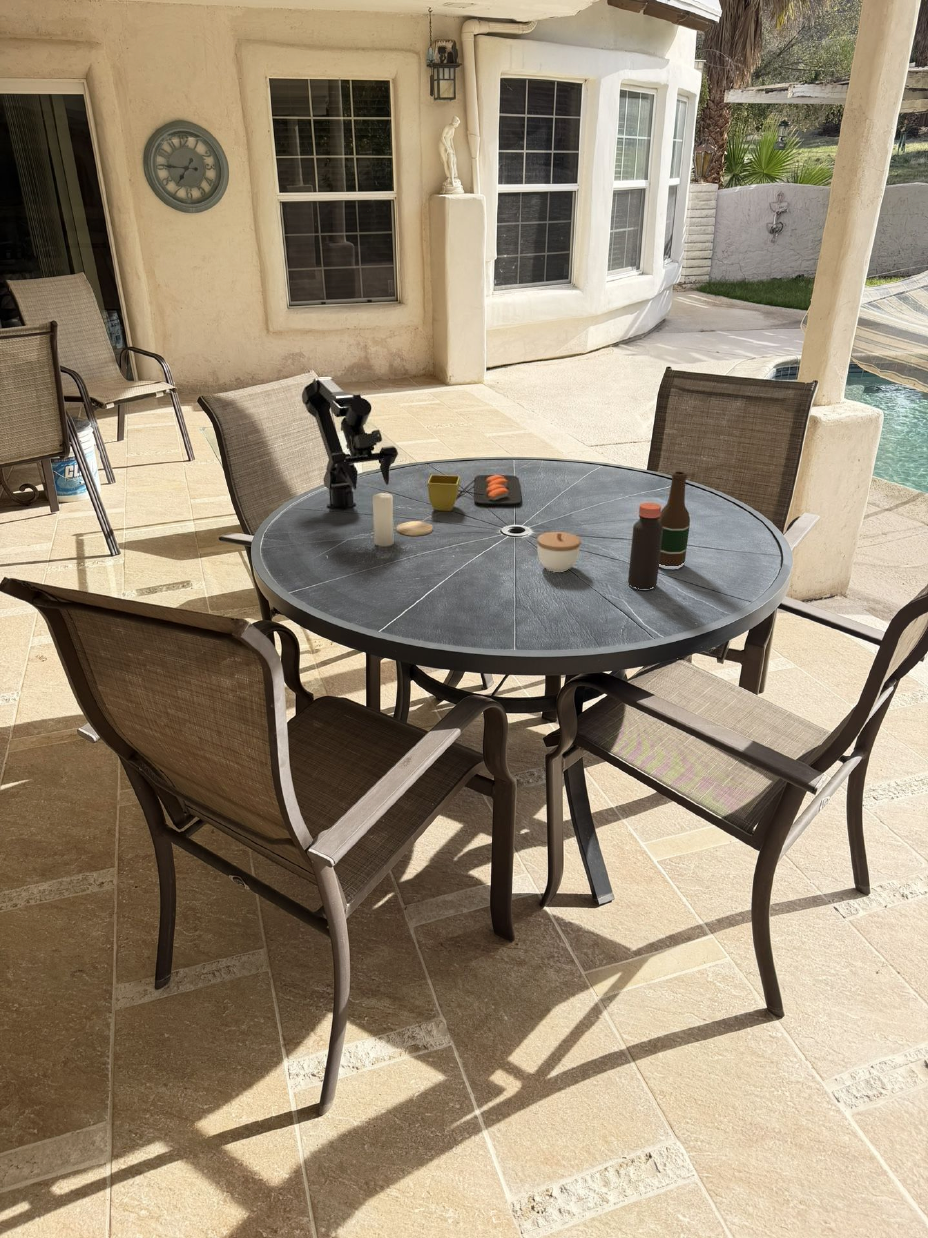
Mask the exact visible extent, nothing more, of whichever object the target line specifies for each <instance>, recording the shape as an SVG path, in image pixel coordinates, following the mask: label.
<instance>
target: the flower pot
mask: <svg viewBox="0 0 928 1238" xmlns="http://www.w3.org/2000/svg"><path fill="white" fill-rule="evenodd" d="M460 480H461V476H460V475H449V474H448V475H443V474H430V477H429V478H428V481H427V485H428V486H427V490H428V499H429V500H428V501H429V502H430V504H431V507H432V509H433V510H435V511H445V512H451V511H452V510H453V509H454V506H455V504H456V501H457V499H458V498H457V495H458V494H459V492H458V490H460V482H461V481H460ZM456 498H457V499H456Z"/></svg>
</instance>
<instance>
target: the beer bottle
mask: <svg viewBox="0 0 928 1238" xmlns="http://www.w3.org/2000/svg"><path fill="white" fill-rule="evenodd" d="M670 477H671V479H672V480H671V484H670V489H669V495H668V500H667V502H666V504H665V505H664V506H663V508H661V514H660V518H659V519H658V521H659V523H660V524H661V525H662V527H663V534H662V542H661V551H660V560H659V564H661V565H665V566H679V565H681V564H682V563H684V562H686V558H687V557H686V556H687V551H688V550H687V549H688V548H687V547H688V541H689V540H688V539H689V535H690V526H691V525H690V524H691V518H690V513H689V510H688V509H687V507H686V502H685V500H686V499H685V495H686V482H687V481H686V480H687V479H688V475H687V473H686V472H685V471H674V472H672V474H671V476H670ZM684 564H685V563H684Z"/></svg>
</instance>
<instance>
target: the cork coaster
mask: <svg viewBox="0 0 928 1238" xmlns="http://www.w3.org/2000/svg"><path fill="white" fill-rule="evenodd" d="M433 529H434V527H433V525H432V524H431V523H429V522H424V521H417V520H416V521H405V522H402V523H400V524H398V525H397V526H396V531H397V533H399V534H401V535H405V536H411V537H412V536H413V537H415V536H416V537H417V536H425V535H428V534H430V533H432V532H433Z"/></svg>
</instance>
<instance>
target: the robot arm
mask: <svg viewBox="0 0 928 1238" xmlns="http://www.w3.org/2000/svg"><path fill="white" fill-rule="evenodd" d="M301 400H302V403H303V405H304V407H305V408H306V411H307V413H309V414H310V415H311V416H312V417H314V418H315V420H316V421H315V422H316V424H317V427H318V430H319V433H320V437H321V439H322V443H323V446H324V448H325V449H324V450H325V452H326V455H327V458H328V462H327V464H326V468H325V469H326V471H325V474H324V477H323V485H324V487H326V489H328V493H329V503H328V504H326V507H327V508H330V509H335V510H340V511H346V510H348V509H349V507H350V508H352V507H354V506H356V505H357V503H356V502H354V491H353V490H356V489H357V482H358V473H359V472H358V469H357V467H356V466H355V464H358V463H359V464H360V463H365V462H367V463H368V462H374V461H378V463H379V464H380V466H379V469H380V472H381V475H382V478H383V481H384V483H385V485H386V486H388V485H389V484H390V482H389V481H390V467H391V465H393V464H394V463H395V461H396V460H397V457H398V456H399V453H398V448H397V447H396V446H394V445H392V446H391V445H390V446H382V447H381V448H380V450H379V452H374V453H373V451H374V450H375V446H377V444H378V443H379V444H380V443H381V442H382V441H383V438H382V437H383V436H382V434H381V430H380V429H374V430H371V432H370V433H367V432H366V431H365V428H364V426H365V425H366V424H367V421H368V418H369V416H370V414H371V411H372V404H371V403H370V402H369V401H368V399H366V398H364V397H362V396H361V394H360V393H359V394H354V393H352V392H349V391H348V392H347V391H344V390H342V388H340V387H339V386H338V385H337V384H336V383H335V382H334V380H333V378H332V377H329V376H321V377H320V376H317V377H315V378H313V380H312V382H310V383H308V384H307V385H306V386H305V387H304V388H303V390H302V393H301ZM332 414H333V416H334V417H335V418H343V419H342V420H341V422H340V431H341V432H342V433H343V436H344V439H345V441H346V445H345V446H346V447H345V448H346V449H347V450H348V451H349V453H345V452H344V450H343V446H342V444H341V442H340V441H341V440H340V438H339V435H338V431H337V428H336V426H335V422H334V419H333V417H332ZM353 505H354V506H353Z"/></svg>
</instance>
